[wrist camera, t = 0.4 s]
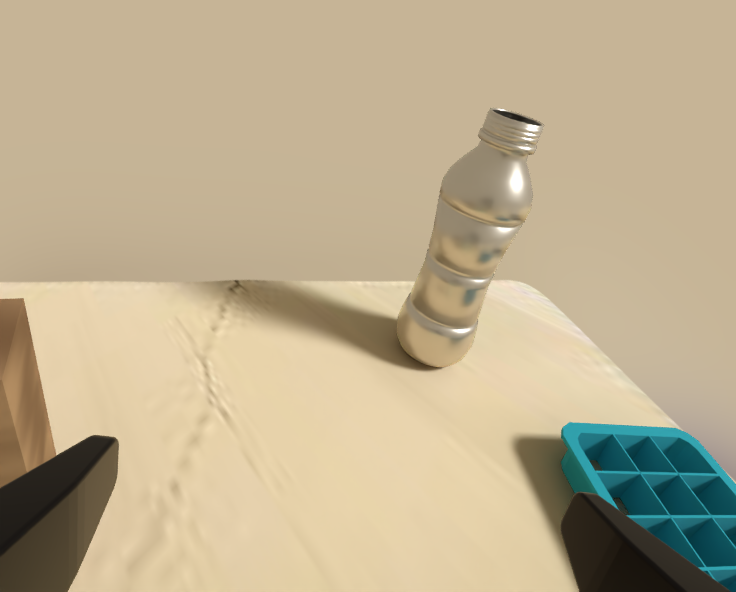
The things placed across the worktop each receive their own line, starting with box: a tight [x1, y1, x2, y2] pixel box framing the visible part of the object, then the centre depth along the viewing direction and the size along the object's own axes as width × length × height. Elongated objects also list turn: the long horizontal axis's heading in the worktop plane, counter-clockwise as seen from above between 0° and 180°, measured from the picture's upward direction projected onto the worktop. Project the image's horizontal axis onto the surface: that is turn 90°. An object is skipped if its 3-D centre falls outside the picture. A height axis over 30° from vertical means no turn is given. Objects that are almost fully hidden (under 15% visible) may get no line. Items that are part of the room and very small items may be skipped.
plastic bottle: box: [397, 108, 544, 367], centre depth 35 cm, size 6×7×20 cm
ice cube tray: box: [561, 422, 736, 592], centre depth 27 cm, size 12×20×3 cm, turn 8°
